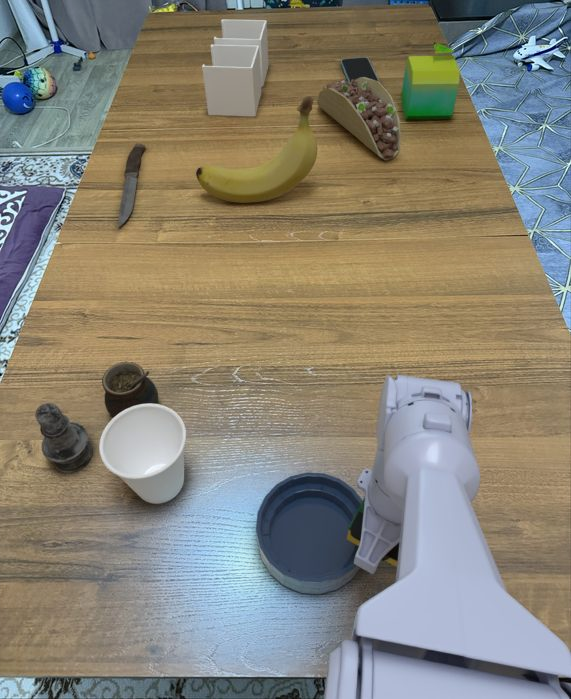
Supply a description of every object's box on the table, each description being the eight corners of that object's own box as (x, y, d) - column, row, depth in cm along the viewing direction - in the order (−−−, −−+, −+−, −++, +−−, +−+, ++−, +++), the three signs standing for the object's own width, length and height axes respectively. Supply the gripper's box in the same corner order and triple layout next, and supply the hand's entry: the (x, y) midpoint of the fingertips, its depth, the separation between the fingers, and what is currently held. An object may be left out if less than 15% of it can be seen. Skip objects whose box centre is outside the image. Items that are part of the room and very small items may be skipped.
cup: (194, 519, 71) (180, 478, 63) (114, 519, 71) (89, 478, 63) (202, 448, 77) (190, 402, 69) (129, 448, 78) (108, 402, 69)
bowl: (382, 579, 66) (386, 565, 63) (272, 608, 64) (270, 596, 61) (347, 478, 74) (349, 462, 71) (248, 502, 72) (246, 486, 69)
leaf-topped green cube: (450, 123, 129) (465, 54, 117) (406, 123, 129) (417, 54, 117) (442, 99, 136) (456, 31, 124) (400, 99, 136) (410, 32, 124)
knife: (133, 229, 107) (131, 223, 106) (114, 230, 107) (112, 224, 106) (146, 147, 125) (145, 141, 124) (130, 147, 125) (129, 142, 124)
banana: (199, 209, 111) (183, 110, 95) (200, 191, 114) (185, 93, 99) (317, 204, 111) (320, 104, 95) (314, 186, 115) (317, 87, 99)
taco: (372, 168, 118) (377, 121, 110) (305, 110, 133) (306, 66, 126) (410, 154, 121) (418, 108, 113) (341, 99, 136) (343, 55, 128)
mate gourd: (116, 389, 84) (98, 345, 76) (168, 390, 84) (154, 346, 76) (105, 432, 79) (84, 390, 72) (159, 433, 79) (144, 390, 71)
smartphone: (352, 88, 138) (339, 59, 147) (351, 93, 139) (339, 63, 148) (381, 86, 138) (367, 56, 147) (381, 90, 139) (367, 61, 148)
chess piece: (75, 428, 80) (45, 377, 71) (104, 450, 78) (78, 399, 68) (41, 459, 77) (6, 409, 68) (70, 483, 75) (38, 435, 65)
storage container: (255, 116, 132) (252, 68, 124) (208, 114, 133) (202, 66, 125) (268, 66, 148) (266, 20, 139) (226, 65, 149) (221, 19, 140)
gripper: (396, 394, 56) (381, 462, 66) (326, 519, 48) (321, 573, 59) (467, 426, 53) (439, 491, 64) (405, 561, 46) (385, 610, 56)
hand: (387, 532), depth 61 cm, fingers closed on sponge, 4 cm apart
